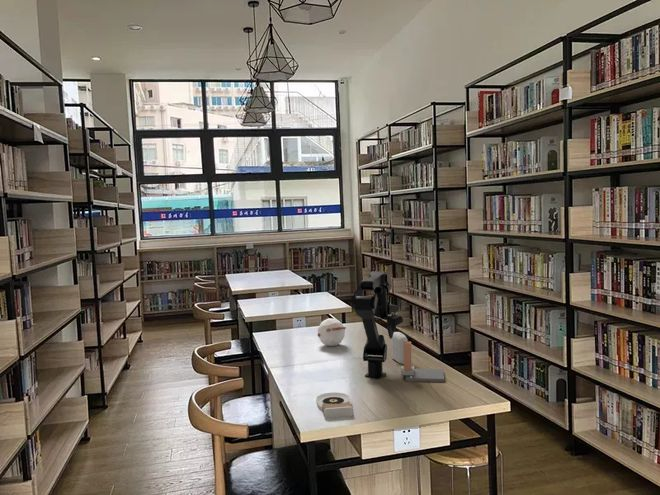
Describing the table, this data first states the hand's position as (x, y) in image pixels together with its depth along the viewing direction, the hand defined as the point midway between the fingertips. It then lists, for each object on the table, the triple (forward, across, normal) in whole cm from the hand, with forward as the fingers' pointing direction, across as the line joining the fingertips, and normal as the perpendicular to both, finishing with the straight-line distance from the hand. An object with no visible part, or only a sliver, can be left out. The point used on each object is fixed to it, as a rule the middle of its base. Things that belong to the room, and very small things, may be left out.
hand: (382, 335), depth 224 cm
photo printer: (+14, -2, -8) cm, 16 cm away
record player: (+6, -18, +47) cm, 51 cm away
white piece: (+17, +41, -7) cm, 45 cm away
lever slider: (+9, -17, +6) cm, 21 cm away
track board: (+11, -23, +2) cm, 25 cm away
